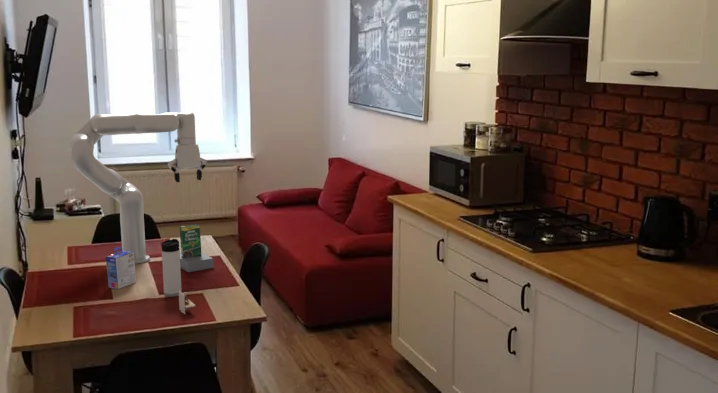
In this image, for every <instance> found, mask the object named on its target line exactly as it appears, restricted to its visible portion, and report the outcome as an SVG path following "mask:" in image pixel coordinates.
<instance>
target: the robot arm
mask: <svg viewBox="0 0 718 393" xmlns="http://www.w3.org/2000/svg"><path fill="white" fill-rule="evenodd" d="M175 131H176V132H177V133H176V135H177V138H176V139H174V143H175V144H176V143H177V144H176V146H175V154H174V159H172V160H170V161H169V162H167V166H168V167H169V169H170V171H172V172H173V173H174V176H173V177H174V181H175V183H180V179H181V178H180V176H181V175H180V170H182V169H195V168H196V169H197V170H196V180H197V181H202V178H203V174H202V173H203V170H204V168H205V167H206V165H207V164H208V163H207V162H208V160H207V159H205V158H203V157H201V152H200V147H199V144H198V143H197V142H196V117H195V114H194V112H191V111H184V112H183V111H181V112H172V111H171V112H169V111H168V112H167V111H164V112H161V113H160V114H159V113H158V114H143V113H137V112H136V113H135V112H130V113H129V112H128V113H127V112H126V113H106V114H105V113H97V114H94V115H93V116H92V117H91V118H89V120H88V121H87V122H86V123H85V124H84V125H83V126H82V127H81V128H80V129H79V130H77V131H76V132H75V134H74V135H73V136H72V137H71V139H70V143H69V144H70V148H71V151H70V152H71V154H70V155H71V156H70V158H71V162H72V165H73V167H74V168H75V169H76V170H77V172H78V173H80V174H81V175H82V177H85V178H86V179H87V180H88V181H89V182H91V183H92V184H94V185H95V186H96V187H97V188H98V189H99V190H100V191H101V192H102V193H105V194H107V195H108V196H110V197H111V198H113V199H114V200H115V201H117V202H118V203H119V223H120V224H119V225H120V236H121V238H120V239H121V249H122V251H131V252H134V262H135V265H136V264H137V265H138V264H144V263H146V262H148V261H150V259H151V256H150V255H148V254H146V252H147V251H146V236H145V235H146V234H145V233H146V232H145V218H144V213H145V212H144V209H145V208H144V207H145V198H144V196H143V193H142V191H140V189H139V188H137V186H136V185H134V184H133V183H131V182H130V181H129V180H127V179H126V178H125V177H123V176H122V175H121V174H119V173H118V172H117V171H115V170H114V169H111V168H108V166H105V165H104V164H103V163H102V162H101V161H100V160H98V159H97V158H96V157H95V155H94V150H95V145H96V144H97V143H98V141H100V140H101V139H102V137H104V136H117V135H131V134H132V135H136V134H138V135H139V134H157V133H158V134H159V133H161V134H162V133H172V132H175ZM201 163H202V164H201ZM174 164H175V165H174ZM173 165H174V166H175V167H174V166H173ZM113 254H114V253H112V254H110V255H113Z"/></svg>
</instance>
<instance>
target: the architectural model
mask: <svg viewBox="0 0 718 393" xmlns="http://www.w3.org/2000/svg"><path fill="white" fill-rule="evenodd" d="M187 293H188V292H186V291H185V292H182V293H181V292H180V291H179V295H178V305H179V311H180V310H181V311H180V312H181V313H182V314H183V313H184V314H185V315H186V312H187V310H188V309H189V308H193V307H196V304H195V303H194V302H193V301H191V300H190V299H188V298H187ZM185 303H186V304H185ZM184 314H183V315H184Z"/></svg>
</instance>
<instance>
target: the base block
mask: <svg viewBox="0 0 718 393" xmlns="http://www.w3.org/2000/svg"><path fill="white" fill-rule="evenodd" d="M213 268H214V258H213V257H211V256H209V255H207V254H205V253H203V252H201V256H194V257H187V258H183V257H182V256H181V252H180V269H182V270H183V271H185V272H188V273H192V272H197V271H198V272H199V271H202V270H204V271H205V270H209V269H213Z"/></svg>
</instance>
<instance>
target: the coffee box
mask: <svg viewBox="0 0 718 393" xmlns="http://www.w3.org/2000/svg"><path fill="white" fill-rule="evenodd" d="M179 237H180V238H179V239H180V240H179V242H180V250H181V251H180V253H181V256H182V257H183V258H187V257H194V256H201V253H202V242H201V241H202V240H201V227H200V225H199V224H197V223H195V224H190V225H181V226H179Z"/></svg>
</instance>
